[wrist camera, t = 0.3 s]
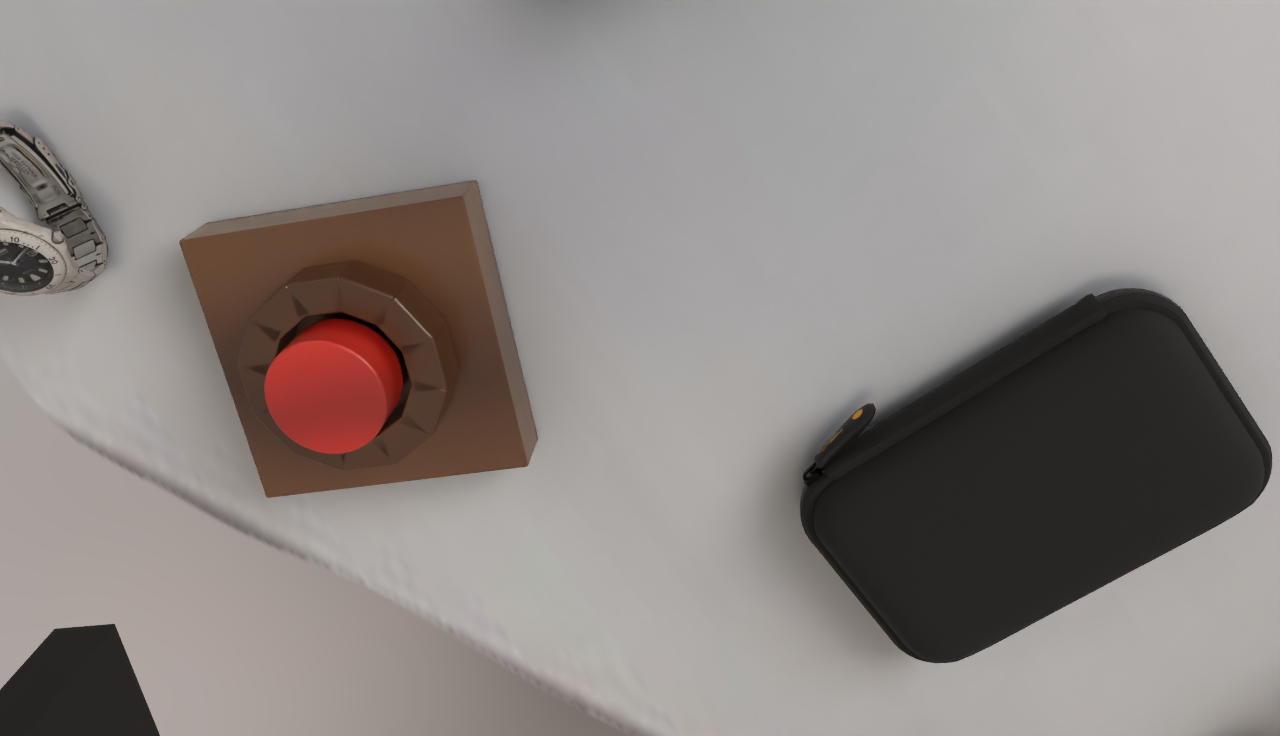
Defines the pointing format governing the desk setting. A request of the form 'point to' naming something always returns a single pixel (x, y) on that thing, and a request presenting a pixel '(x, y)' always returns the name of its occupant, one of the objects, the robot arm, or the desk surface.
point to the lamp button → (334, 386)
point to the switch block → (390, 305)
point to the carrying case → (1035, 476)
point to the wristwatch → (36, 255)
